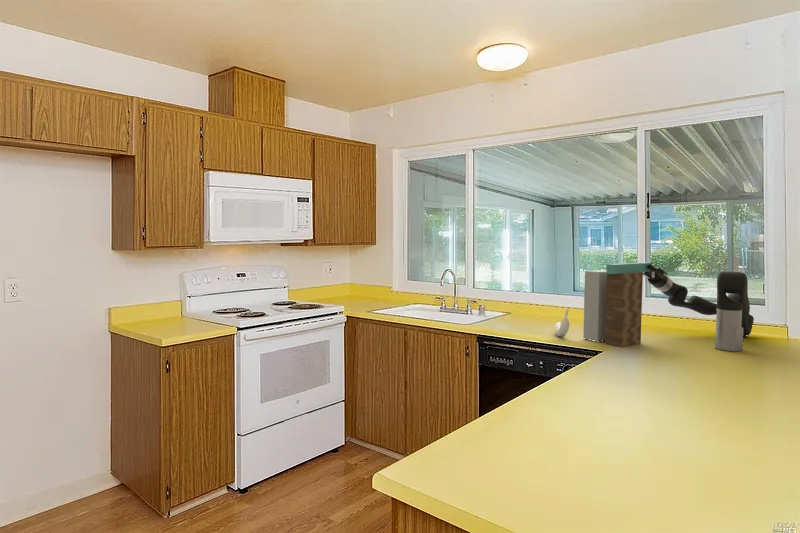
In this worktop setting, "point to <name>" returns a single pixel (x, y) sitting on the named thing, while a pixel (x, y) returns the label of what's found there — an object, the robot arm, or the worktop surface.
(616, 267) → the teal block
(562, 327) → the white tapered lobed shape
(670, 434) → the worktop surface
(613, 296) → the walnut stand
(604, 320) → the grey stand
